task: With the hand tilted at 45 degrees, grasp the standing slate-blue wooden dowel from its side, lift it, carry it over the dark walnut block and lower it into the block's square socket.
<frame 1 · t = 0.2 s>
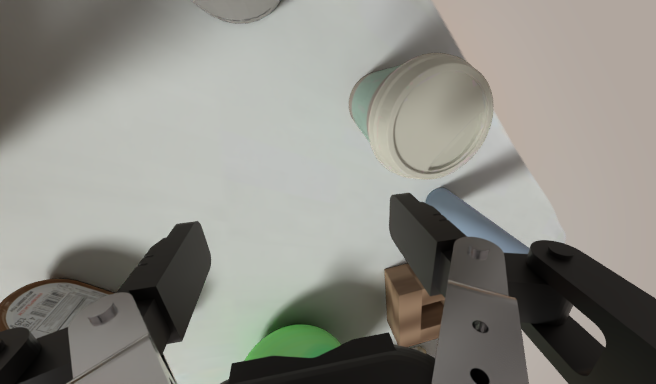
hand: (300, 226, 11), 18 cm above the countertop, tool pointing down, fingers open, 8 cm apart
socket block: (420, 287, 42), on the countertop
green round piece: (286, 339, 41), on the countertop
coffee cup: (374, 102, 27), on the countertop
dowel: (437, 199, 35), on the countertop
tin: (111, 295, 32), on the countertop
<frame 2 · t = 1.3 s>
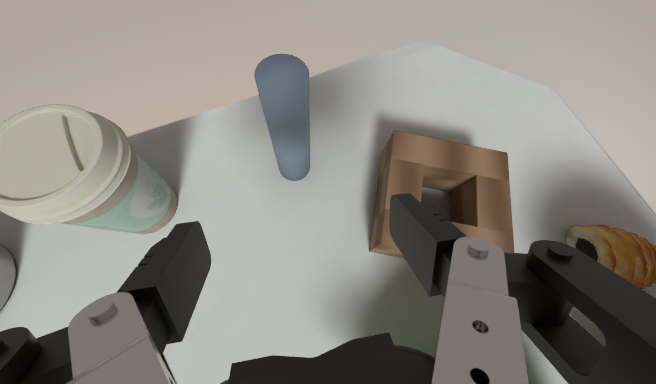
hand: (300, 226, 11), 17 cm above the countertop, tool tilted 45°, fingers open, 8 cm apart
socket block: (427, 209, 29), on the countertop
pastry: (597, 257, 29), on the countertop
coffee cup: (150, 207, 28), on the countertop
dowel: (294, 166, 30), on the countertop
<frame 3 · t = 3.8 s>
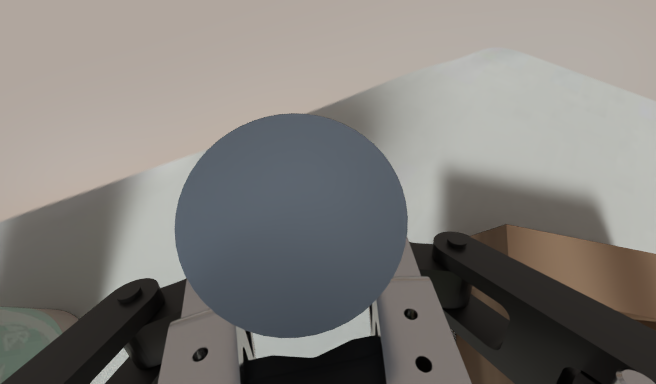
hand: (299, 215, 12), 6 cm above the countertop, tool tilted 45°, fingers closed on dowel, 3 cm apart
socket block: (550, 352, 16), on the countertop
coffee cup: (37, 364, 15), on the countertop
dowel: (307, 269, 17), on the countertop, touching gripper
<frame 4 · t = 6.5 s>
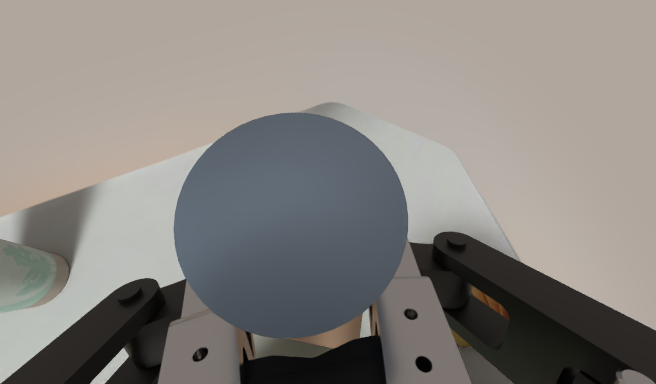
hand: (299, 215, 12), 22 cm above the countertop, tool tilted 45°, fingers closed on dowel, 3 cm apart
socket block: (309, 277, 31), on the countertop
pastry: (463, 310, 31), on the countertop
coffee cup: (43, 279, 30), on the countertop
dowel: (307, 269, 17), point 15 cm above the countertop, touching gripper
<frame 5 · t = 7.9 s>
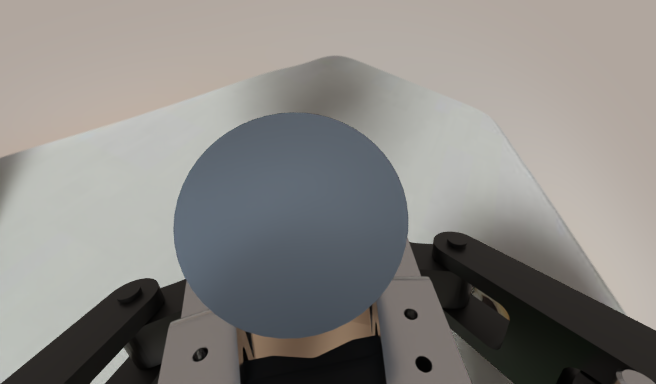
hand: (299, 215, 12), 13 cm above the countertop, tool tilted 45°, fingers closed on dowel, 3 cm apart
socket block: (306, 273, 23), on the countertop
pastry: (512, 313, 24), on the countertop
dowel: (307, 269, 17), point 6 cm above the countertop, touching gripper
when the fingers open (8 cm above the countertop, at t = 9.1 s): dowel drops 2 cm, resting in socket block.
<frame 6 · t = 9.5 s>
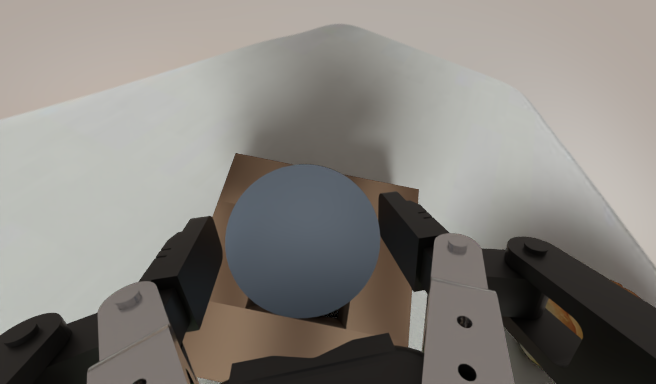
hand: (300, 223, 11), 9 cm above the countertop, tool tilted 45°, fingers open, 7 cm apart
socket block: (307, 271, 19), on the countertop
pastry: (553, 313, 20), on the countertop
dowel: (308, 272, 19), resting in socket block
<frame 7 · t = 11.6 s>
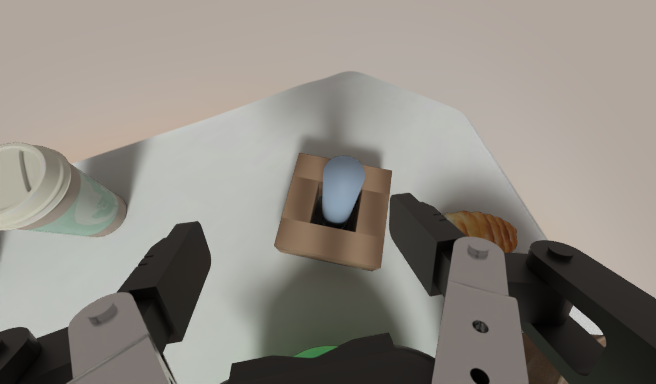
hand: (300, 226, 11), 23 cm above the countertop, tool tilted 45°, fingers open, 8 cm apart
socket block: (334, 217, 35), on the countertop
pastry: (469, 237, 35), on the countertop
coffee cup: (105, 215, 34), on the countertop
dowel: (334, 217, 35), resting in socket block
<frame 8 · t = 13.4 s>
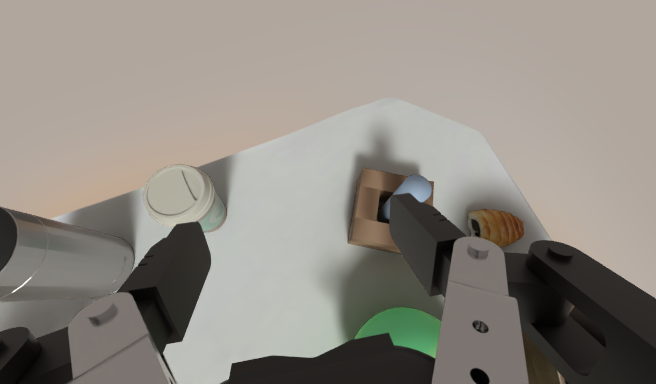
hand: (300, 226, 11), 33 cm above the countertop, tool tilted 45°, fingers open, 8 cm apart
socket block: (386, 216, 46), on the countertop
green round piece: (396, 372, 38), on the countertop
pastry: (487, 229, 46), on the countertop
coffee cup: (209, 215, 44), on the countertop
plant pot: (514, 343, 40), on the countertop
dowel: (386, 216, 46), resting in socket block
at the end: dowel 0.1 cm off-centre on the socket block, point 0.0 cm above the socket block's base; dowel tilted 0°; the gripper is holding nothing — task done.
